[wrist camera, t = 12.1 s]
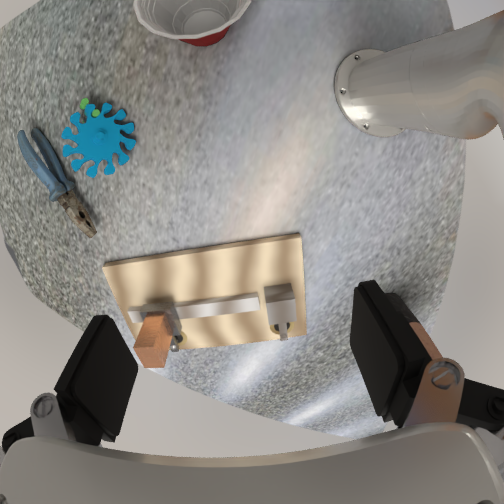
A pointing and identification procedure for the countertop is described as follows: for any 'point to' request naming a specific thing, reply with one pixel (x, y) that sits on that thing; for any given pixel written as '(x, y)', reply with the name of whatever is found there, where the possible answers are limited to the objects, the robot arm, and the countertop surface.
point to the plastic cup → (190, 18)
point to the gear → (98, 138)
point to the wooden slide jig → (219, 291)
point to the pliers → (55, 179)
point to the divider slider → (157, 334)
